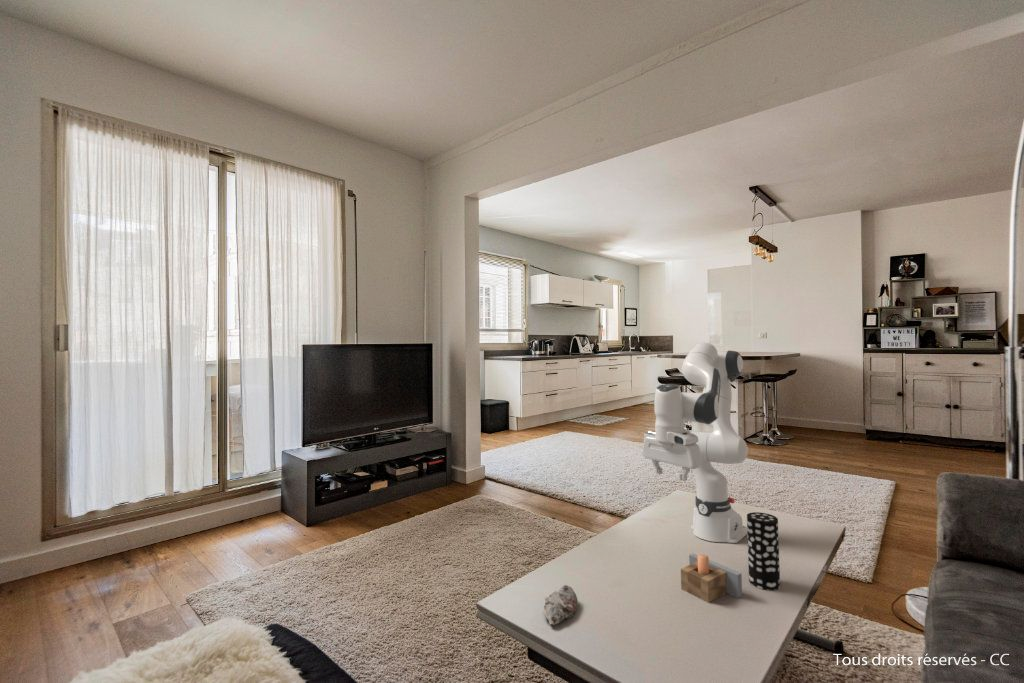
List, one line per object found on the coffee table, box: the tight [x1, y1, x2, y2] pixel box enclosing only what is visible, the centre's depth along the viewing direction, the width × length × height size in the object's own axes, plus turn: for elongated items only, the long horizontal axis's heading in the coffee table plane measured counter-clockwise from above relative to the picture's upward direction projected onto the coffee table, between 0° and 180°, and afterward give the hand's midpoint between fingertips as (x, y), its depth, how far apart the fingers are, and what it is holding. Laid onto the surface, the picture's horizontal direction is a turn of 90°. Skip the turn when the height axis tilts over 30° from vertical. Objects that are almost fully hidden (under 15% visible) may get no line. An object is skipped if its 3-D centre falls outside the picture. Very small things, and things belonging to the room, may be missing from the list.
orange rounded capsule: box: [697, 554, 709, 576], centre depth 136 cm, size 3×3×10 cm
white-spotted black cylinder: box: [746, 511, 781, 591], centre depth 140 cm, size 8×8×20 cm
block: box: [680, 561, 728, 603], centre depth 136 cm, size 9×9×6 cm
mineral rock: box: [542, 584, 579, 626], centre depth 127 cm, size 15×8×4 cm, turn 138°
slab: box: [688, 552, 743, 599], centre depth 139 cm, size 2×16×6 cm, turn 33°
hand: (671, 476), depth 149 cm, fingers open, 8 cm apart
